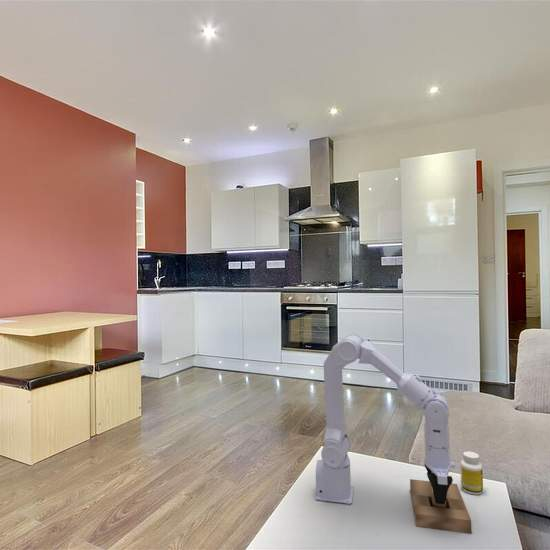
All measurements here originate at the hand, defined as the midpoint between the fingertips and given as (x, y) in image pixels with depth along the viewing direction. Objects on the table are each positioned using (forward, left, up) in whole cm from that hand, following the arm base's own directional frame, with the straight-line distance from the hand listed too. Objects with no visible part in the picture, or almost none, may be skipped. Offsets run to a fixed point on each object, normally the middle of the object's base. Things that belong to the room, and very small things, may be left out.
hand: (438, 498), depth 95 cm
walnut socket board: (0, +2, -4) cm, 4 cm away
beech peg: (0, 0, -3) cm, 3 cm away
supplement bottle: (+11, +13, -4) cm, 18 cm away
